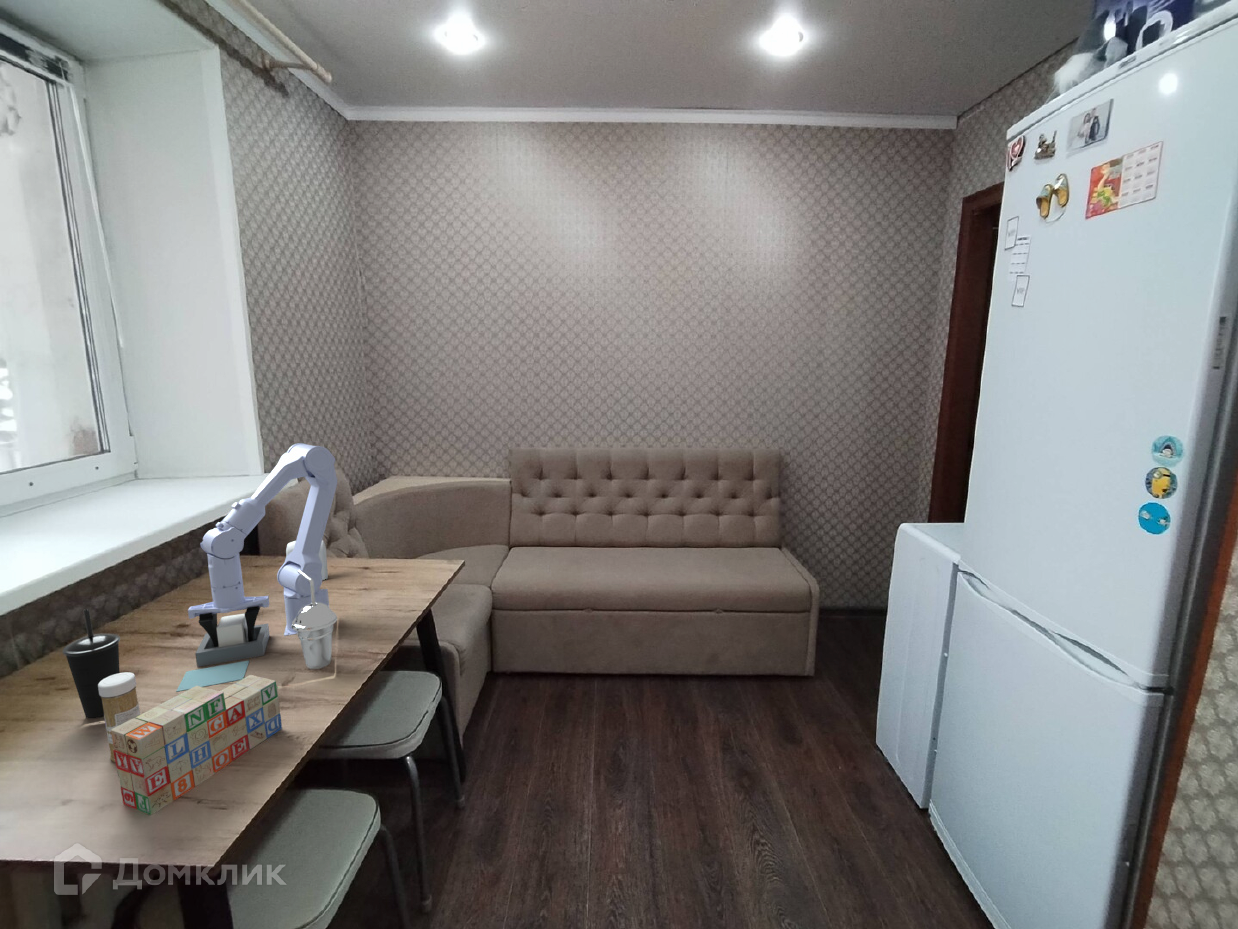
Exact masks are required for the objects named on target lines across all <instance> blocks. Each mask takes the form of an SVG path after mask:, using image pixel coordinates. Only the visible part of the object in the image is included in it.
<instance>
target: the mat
mask: <svg viewBox="0 0 1238 929" xmlns="http://www.w3.org/2000/svg"><path fill="white" fill-rule="evenodd" d="M249 663H250V660H243V661H238V662H232V663H227V664H220V665H216V666H210V667H204V668H198V669H192V670H186V672H185V673H184V675H183V678H182V680H181V681H180V683H179V685H178V687H177V689H176V691H175V692H176V693H178V692H182V691H183V692H185V691H187V690H189V689H191V688H193V687H195V686H200V687H203V688H206V687H209V686H215V685H221V684H226V683H227V684H228V683H231V682H238V681H240V680H242V679H244V678H245V675H246V673H247V669H248V666H249Z"/></svg>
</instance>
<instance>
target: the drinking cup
mask: <svg viewBox="0 0 1238 929" xmlns="http://www.w3.org/2000/svg"><path fill="white" fill-rule="evenodd" d="M83 614H84V621H85V626H86V632H87V633H86V634H87V635H86V636H83V637H81V638H78V639H76V640H75V641H73V642H71V643H68V644H67V645H66V646H64V647H63V649H62V654H63V655H64V656H66V660H67V663H68V666H69V667H68V668H69V669H70V672H71V673H70V674H72V675H71V676H72V679H73V682H74V684H75V687H76V688H75V689H76V691H77V694H78V698H79V700H80V703H81V707H82V710H83V712H84V716H85V718H86V719H99V718H104V710H103V703H102V698H101V696H100V695H99V690H98V684H99V682H100V681H102V680H103V679H105V678H107V677H109V676H111V675H114V674H118V673H121V671H120V650H119V649H120V648H119V645H120V644H119V643H120V640H121V636H120V635H118V634H116V633H94V632H93V626H92V622H91V615H90V609H89V608H86V609H83Z"/></svg>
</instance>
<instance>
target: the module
mask: <svg viewBox="0 0 1238 929" xmlns="http://www.w3.org/2000/svg"><path fill="white" fill-rule="evenodd" d="M217 625H218V626H217V636H218V644H219V647H223V646H229V645H235V644H241V643H247V642H248V630H247V623H246V619H245V613H238V614H232V615H226V616H222V617H221V618H220V620H219V623H217Z"/></svg>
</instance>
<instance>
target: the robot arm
mask: <svg viewBox="0 0 1238 929" xmlns="http://www.w3.org/2000/svg"><path fill="white" fill-rule="evenodd" d="M335 463H336V458H335V456H334V455H333V454H332V453H331V451H330V450H329V449H328V448H326V447H325V446H322V445H321V446H319V445H310V444H307V443H303V442H298V443H297V442H296V443H294V444H293V445H292V444H291V446H290V447H289V448H288V450H287V451H286V452H285V453H283V454H282V455H281V456H280V457H279V460H278V462H277V464H276V465H275V466H274V468H273V469H272V470H271V471H270V473H269V474H268V475H267V476H266V478H265V479H264V480H263V482H262V483H261V484H260V485H259V486H258V488H257V489H256V491H255V492H254V493H253V494H252V496H250V497H248V498H243V499H240V500H239V501H237V502H234V503H233V504H232V505H231V506H230V507H231V508H232V509H231V510H230V511H229V512H228V513H227V514H226V516H225V517H224V518H223V519H222V520H221V521H220V522H219V521H218V522H217V523H216V524H215V527H214V528H213V529H210V530H208V531H207V532H206V533H205V534H204V536H203V537H202V541H201V542H200V544H199V545H200V548H201V549H202V550H203V551H204V552H205V553H207V554H206V556H207V563H208V564H207V565H208V568H207V569H208V573H209V574H208V575H209V581H210V590H211V596H212V601H211V602H207V603H203V604H199V605H198V604H197V605H193V606H189V608H188V609H187V613H188V614H187V615H188V619H195V618H196V617H199V620H198V624H199V626H201V627H202V628H203V629H204V630H205V633H208V635H209V636H210V638H211V640H212V642H213V644H214V647H218V646H219V644H218V636H217V626H218V614H226V613H227V614H228V613H231V612H235V611H236V612H237V611H242V610H246V611H245V613H244V614H245V619H246V623H247V630H248V642H250V641H252V640H253V634H254V626H255V625H256V621H257V618H258V615H259V613H260V610H261V608H264V609H265V608H269V606H270V598H269V595H263V596H245V591H244V582H243V581H244V580H243V571H242V565H241V559H240V552H242V551H243V549H244V546H245V545H244V543H245V542H244V541H245V539H246V538H247V537H248V535H250V533H251V532H252V531H253V529H255V527H256V526H257V525H258V523H260V521H262V519H263V518H264V517H265V515H266V506H268V504H269V503H270V502H271V501H272V500H273V499H274V498H275V497H276V496H277V495H278V494H279V493H280V492H281V491H282V490H283V489H284V488H285V487H286V486H287V484H289V483H290V482H291V481H292V480H295V479H299V478H305V480H306V481H307V482H308V483H309V485H310V489H309V491H308V495H307V499H306V503H305V505H304V506H305V507H304V510H303V514H302V517H301V522H300V524H299V529H298V531H297V533H298V534H297V536H296V540H295V541H296V543H295V546H294V550H293V551H292V552H291V553H290V554H288V555H287V556H286V557H285V560H284V563H283V564H282V565H281V566H280V568H279V569H278V570H277V573H276V574H277V575H276V579H277V582H278V583H279V585H280V586H281V587H283V599H284V601H283V602H284V610H285V619H286V626H285V629H284V633H283V636H285V637H286V636H293V635H297V631H295V630H293V629H292V622H293V620H294V619H295V618H296V616H297V614H298V612H299V610H300V609H301V608H302V607H304V606H305V605H307V604H309V603H312V600H311V590H310V582H309V581H308V580H307V579H306V578H304V577H303V576H302V575H300V574H299V573H298V570H301V571H303V572H304V573H305V574H306V575H308V576H309V577H310V578H312V580H313V582H314V591H315V602H320V603H324V604H326V605H327V606H328V607H329V608H330V599H329V591H328V588H321V586H322V585H323V584H322V583H323V580H322V574H321V569H322V562H321V560H320V557H319V550H320V547H321V543H322V540H324V534H325V530H326V528H327V527H326V526H327V524H328V519H329V516H330V512H331V508H332V505H333V501H334V497H335V493H336V489H337V486H338V477H337V473H336V468H335Z"/></svg>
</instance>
